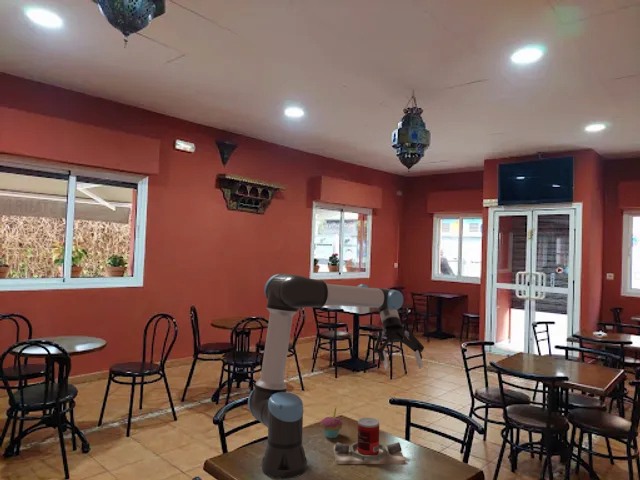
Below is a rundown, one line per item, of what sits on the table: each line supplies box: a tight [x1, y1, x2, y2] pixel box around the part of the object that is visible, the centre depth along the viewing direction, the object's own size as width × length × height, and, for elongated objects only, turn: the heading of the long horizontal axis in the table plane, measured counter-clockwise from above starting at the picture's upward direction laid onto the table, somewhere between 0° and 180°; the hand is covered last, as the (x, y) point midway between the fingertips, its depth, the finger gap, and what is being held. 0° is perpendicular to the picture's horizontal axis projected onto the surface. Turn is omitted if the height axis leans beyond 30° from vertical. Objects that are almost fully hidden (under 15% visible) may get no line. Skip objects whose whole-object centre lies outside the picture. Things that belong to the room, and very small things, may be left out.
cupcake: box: [320, 407, 343, 439], centre depth 176 cm, size 9×8×12 cm
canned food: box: [357, 417, 380, 455], centre depth 159 cm, size 8×8×11 cm
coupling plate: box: [333, 440, 406, 465], centre depth 159 cm, size 24×13×5 cm, turn 93°
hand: (404, 367), depth 168 cm, fingers open, 13 cm apart
